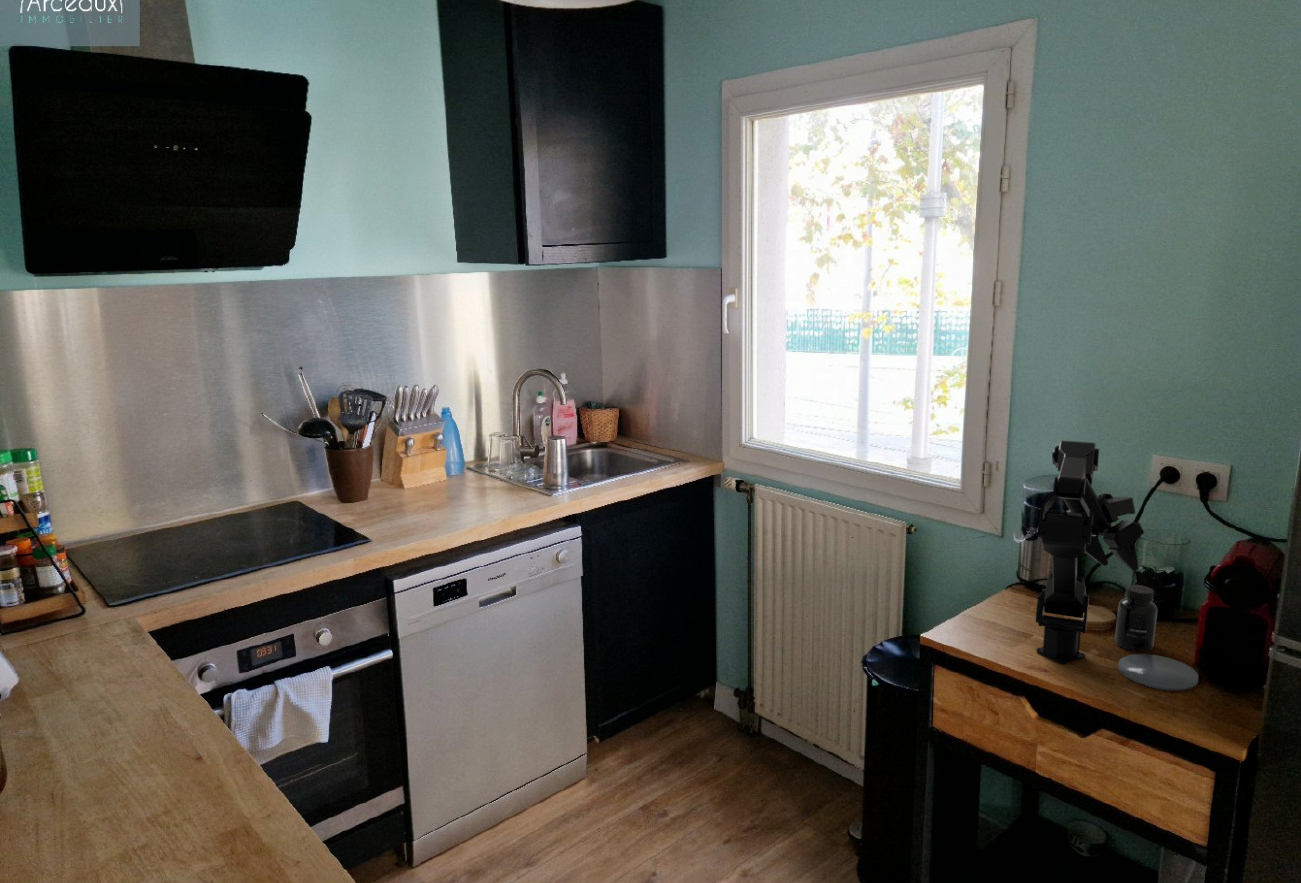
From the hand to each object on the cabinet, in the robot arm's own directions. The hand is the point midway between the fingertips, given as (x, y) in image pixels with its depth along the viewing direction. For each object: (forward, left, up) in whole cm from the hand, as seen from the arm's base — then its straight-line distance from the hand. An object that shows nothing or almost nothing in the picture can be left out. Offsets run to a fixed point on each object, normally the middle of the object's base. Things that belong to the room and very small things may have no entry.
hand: (1120, 567), depth 177 cm
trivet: (-5, -13, -16) cm, 21 cm away
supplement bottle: (+2, -3, -16) cm, 16 cm away
